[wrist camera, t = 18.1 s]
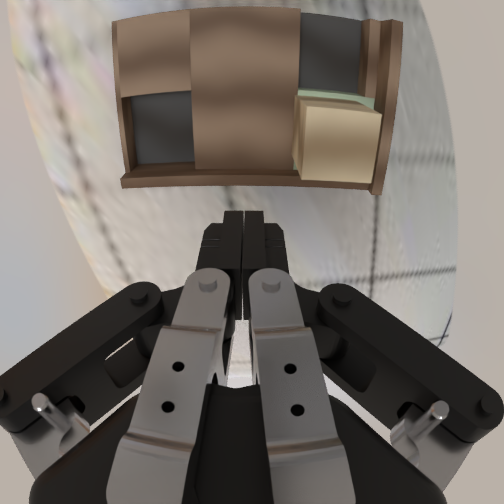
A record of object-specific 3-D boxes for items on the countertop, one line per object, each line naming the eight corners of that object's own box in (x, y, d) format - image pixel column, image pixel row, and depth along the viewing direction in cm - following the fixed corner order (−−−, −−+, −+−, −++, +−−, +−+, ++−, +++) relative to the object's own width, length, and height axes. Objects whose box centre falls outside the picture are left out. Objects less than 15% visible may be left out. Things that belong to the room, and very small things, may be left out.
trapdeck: (122, 23, 21) (99, 20, 17) (380, 25, 21) (403, 22, 17) (135, 172, 31) (118, 193, 27) (364, 174, 31) (381, 195, 27)
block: (294, 95, 24) (306, 106, 19) (356, 100, 24) (381, 114, 19) (291, 154, 27) (301, 179, 22) (349, 157, 27) (371, 183, 23)
